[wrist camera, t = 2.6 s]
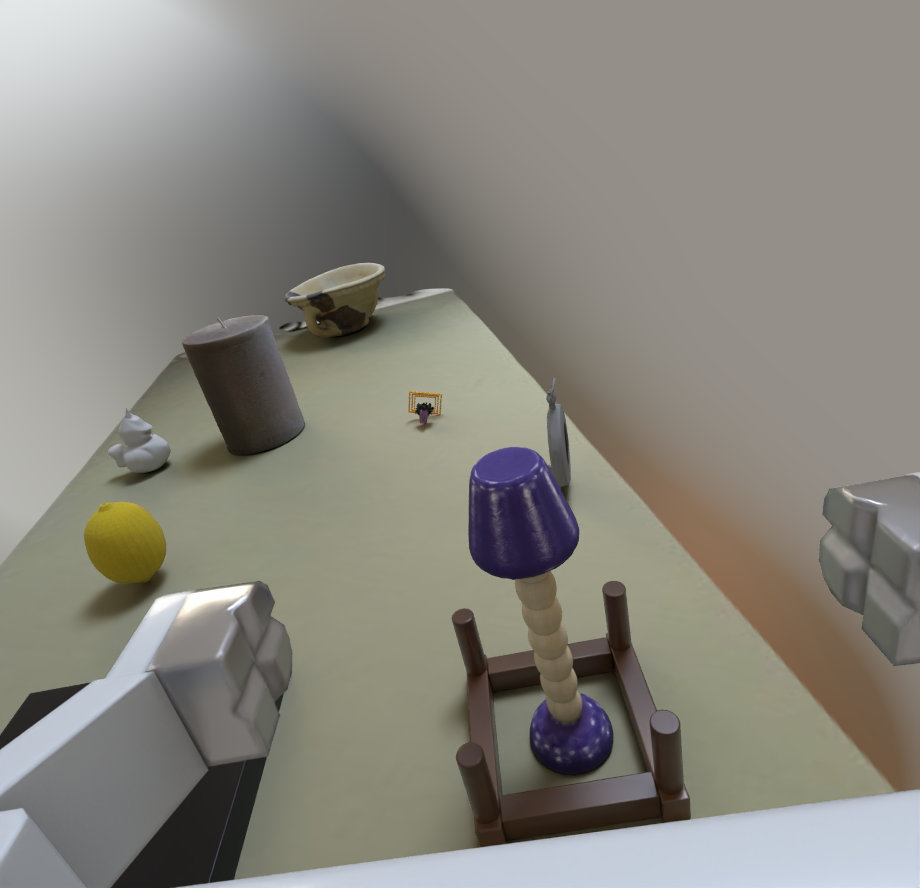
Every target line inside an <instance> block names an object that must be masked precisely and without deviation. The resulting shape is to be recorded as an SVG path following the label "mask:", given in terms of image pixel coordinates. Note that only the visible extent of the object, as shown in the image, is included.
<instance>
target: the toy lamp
mask: <svg viewBox="0 0 920 888" xmlns="http://www.w3.org/2000/svg"><path fill="white" fill-rule="evenodd" d="M578 541H579V527H578V524H577V521H576V518H575V516H574V514H573V512H572V510H571V508H570V506H569V505H568V503H567V501H566V499H565V497H564V495H563V493H562V491H561V489H560V487H559V486H558V484H557V482H556V480H555V478H554V476H553V475H552V473H551V471H550V469H549V467H548V466H547V464H546V462H545V461H544V459H543V458H542V457H541V456H540V455H539V454H538V453H537V452H535V451H533V450H531V449H528V448H524V447H509V448H503V449H499V450H496V451H494V452H491V453H489V454H487V455H485V456H484V457H482V458H481V459H480V460H478V462H477V463H476V464H475V465H474V467H473V469H472V471H471V476H470V483H469V549H470V553H471V556H472V558H473V560H474V561H475V563H476V564H477V565H478V566H479V567H480V568H481V569H482V570H483V571H485V572H487V573H489V574H491V575H494V576H497V577H500V578H508V579H512V580H515V587H516V592H517V595H518V597H519V599H520V600H521V601H522V615H523V618H524V621H525V623H526V624H527V626H528V627H529V628H528V638H529V642H530V645H531V647H532V648H533V650H534V660H535V664H536V667H537V669H538V671H539V672H540V673H541V674H540V681H541V685H542V688H543V690H544V692H545V693H546V700H545V701H544V702H543V703H541V704H540V706H539V707H538V708H537V710H536V712H535V713H534V715H533V718H532V722H531V726H530V741H531V746H532V749H533V751H534V753H535V755H536V756H537V757H538V759H539V760H540V761H541V762H542V763H543V764H544V765H545V766H547V767H548V768H550V769H552V770H554V771H557V772H560V773H563V774H580V773H584V772H588V771H589V770H592V769H594V768H596V767H597V766H599V765H600V764H601V763H602V762H603V761H604V760H605V759H606V758H607V756H608V755H609V754H610V751H611V749H612V744H613V730H612V726H611V722H610V720H609V718H608V716H607V714H606V713H605V711H604V710H603V709H602V707H601V706H600V705H599V704H598V703H597V702H596V701H594V700H593V699H591V698H590V697H588V696H586V695H584V694H581V693H579V691H578V689H577V687H578V681H577V676H576V674H575V672H574V670H573V668H572V666H573V658H572V654H571V651H570V649H569V647H568V646H567V643H568V636H567V631H566V629H565V626H564V624H563V623H562V622H561V620H562V609H561V606H560V603H559V601H558V599H557V598H556V581H555V579H554V576H553V574H552V573H551V572H550V571H551V570H553V569H555V568H557V567H558V566H560V565H561V564H563V563H564V562H565V561H566V560H567V559H568V558H569V557H570V556H571V555H572V553H573V552H574V549H575V548H576V546H577V545H578Z"/></svg>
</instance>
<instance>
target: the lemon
mask: <svg viewBox="0 0 920 888" xmlns="http://www.w3.org/2000/svg"><path fill="white" fill-rule="evenodd" d="M84 540H85V545H86V549H87V553H88V555H89V558H90V560H91V562H92V563H93V565H94V566H95V567H96V569H97V570H98V571H99V572H100V573H101V574H103V575H104V576H105V577H107V578H108V579H110V580H112V581H115V582H119V583H124V584H130V583H137V582H144V583H145V582H148V581H150V580H151V578H152V576H153V574H154V573H155V572H156V571H157V570H158V569H159V568H160V566H161V565H162V563H163V561H164V558H165V555H166V542H165V537H164V534H163V531H162V529H161V527H160V525H159V524H158V523H157V521H156V520H155V519H154V518H153V517H152V516H151V514H150V513H149V512H147V511H146V510H145V509H144V508H142V507H141V506H139V505H136V504H133V503H129V502H115V503H109V502H106V503H103V504H101V505H100V508H99V509H98V510H97V511H96V512H95V513H94V514H93V515H92V516H91V518H90V519H89V521H88V523H87V525H86V528H85V532H84Z"/></svg>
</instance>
